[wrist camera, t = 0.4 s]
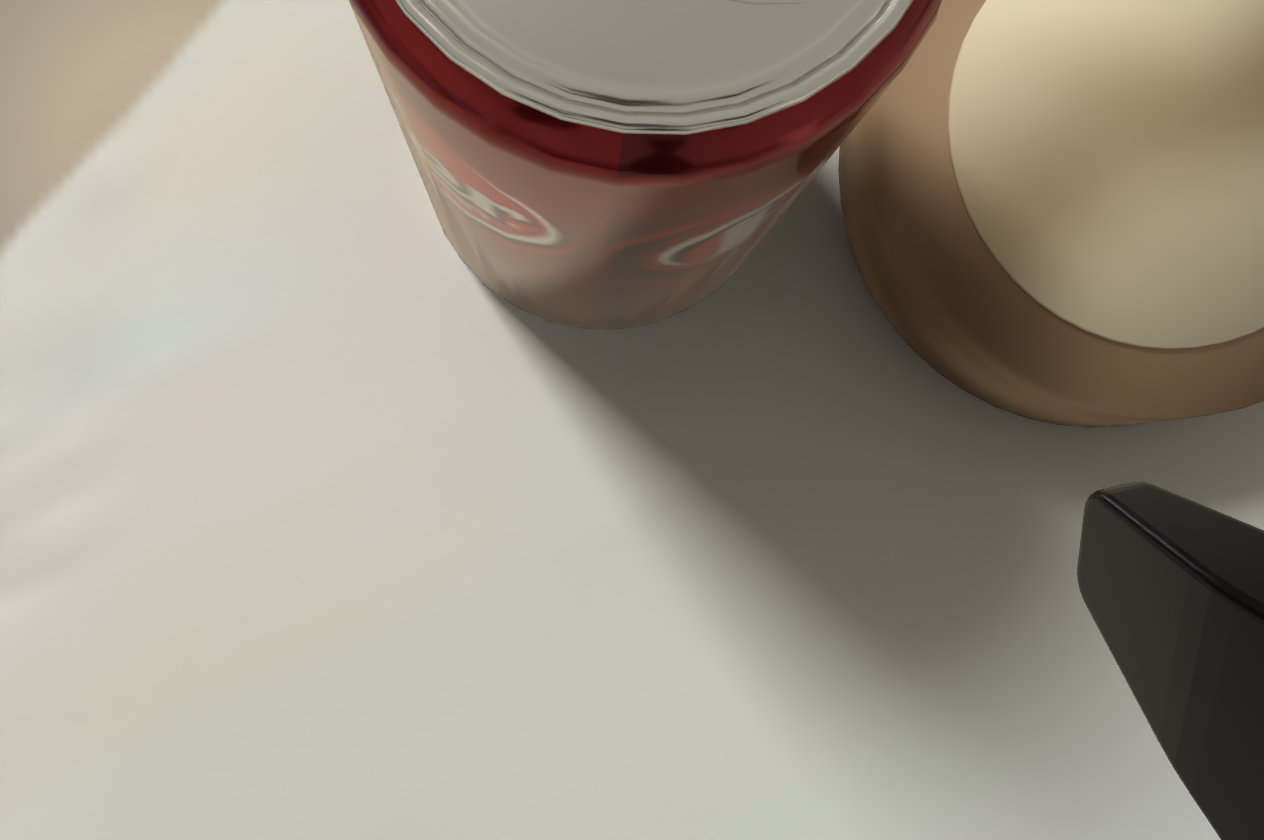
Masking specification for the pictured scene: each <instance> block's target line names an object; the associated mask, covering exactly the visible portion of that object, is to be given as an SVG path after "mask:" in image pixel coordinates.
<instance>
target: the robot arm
mask: <svg viewBox="0 0 1264 840" xmlns="http://www.w3.org/2000/svg"><path fill="white" fill-rule="evenodd" d="M1077 576H1078V584H1079V588H1080V592H1081V594H1082V597H1083V600H1084V602H1085V604H1086V606H1087V608H1088V609H1089V611H1090V613H1091V615H1092V617H1093V619H1094V621H1095V623H1096V625H1097V626H1098V628H1099V630H1100V632H1101V634H1102V636H1103V638H1104V640H1105V642H1106V643H1107V645H1108V647H1109V649H1110V651H1111V653H1112V655H1113V657H1114V658H1115V660H1116V662H1117V664H1118V666H1119V668H1120V670H1121V672H1122V674H1123V675H1124V677H1125V679H1126V681H1127V683H1128V685H1129V687H1130V689H1131V691H1132V692H1133V694H1134V696H1135V698H1136V700H1137V702H1138V704H1139V706H1140V707H1141V709H1142V711H1143V713H1144V715H1145V717H1146V719H1147V721H1148V723H1149V724H1150V726H1151V728H1152V730H1153V732H1154V734H1155V736H1156V738H1157V740H1158V741H1159V743H1160V745H1161V747H1162V748H1163V750H1164V752H1165V754H1166V755H1167V757H1168V759H1169V761H1170V762H1171V764H1172V766H1173V768H1174V769H1175V771H1176V772H1177V774H1178V775H1179V777H1180V779H1181V780H1182V782H1183V783H1184V785H1185V786H1186V788H1187V789H1188V791H1189V793H1190V794H1191V796H1192V797H1193V799H1194V800H1195V802H1196V803H1197V805H1198V806H1199V808H1200V809H1201V810H1202V812H1203V813H1204V815H1205V816H1206V818H1207V819H1208V821H1209V822H1210V824H1211V825H1212V827H1213V828H1214V830H1215V831H1216V833H1217V834H1218V836H1219V837H1220V839H1221V840H1264V531H1263V530H1261V529H1259V528H1256V527H1254V526H1251V525H1249V524H1246V523H1244V522H1242V521H1239V520H1237V519H1234V518H1232V517H1230V516H1227V515H1225V514H1222V513H1220V512H1217V511H1215V510H1213V509H1210V508H1208V507H1205V506H1203V505H1200V504H1198V503H1196V502H1193V501H1191V500H1188V499H1186V498H1184V497H1181V496H1179V495H1176V494H1174V493H1171V492H1169V491H1167V490H1164V489H1162V488H1159V487H1157V486H1154V485H1152V484H1149V483H1145V482H1132V483H1128V484H1123V485H1119V486H1115V487H1110V488H1106V489H1102V490H1098V491H1096V492H1094V493H1093V494H1091V495H1090V497H1089V498H1088V500H1087V502H1086V504H1085V509H1084V516H1083V525H1082V533H1081V541H1080V550H1079V558H1078V567H1077Z"/></svg>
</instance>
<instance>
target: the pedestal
mask: <svg viewBox="0 0 1264 840" xmlns="http://www.w3.org/2000/svg"><path fill="white" fill-rule="evenodd" d="M838 171H839V184H840V197H841V206H842V210H843V215H844V220H845V225H846V230H847V235H848V238H849V241H850V244H851V247H852V249H853V252H854V255H855V258H856V261H857V264H858V267H859V269H860V271H861V273H862V275H863V277H864V279H865V281H866V283H867V285H868V287H869V289H870V291H871V293H872V295H873V297H874V299H875V300H876V302H877V303H878V305H879V306H880V308H881V309H882V311H883V312H884V314H885V315H886V317H887V318H888V320H889V321H890V323H891V324H892V325H893V327H894V328H895V329H896V330H897V331H898V332H899V334H900V335H901V336H902V337H903V338H904V339H905V340H906V342H907V343H908V344H909V345H910V346H911V347H912V349H913V350H914V351H915V352H916V353H918V354H919V355H920V356H921V357H922V358H923V359H924V360H925V361H927V362H928V363H929V364H930V365H931V366H932V367H933V368H934V369H936V370H937V371H938V372H939V373H940V374H942V375H943V376H945V377H946V378H947V379H949V380H950V381H952V382H953V383H955V384H956V385H958V386H959V387H961V388H962V389H964V390H965V391H966V392H968V393H970V394H972V395H974V396H976V397H978V398H980V399H982V400H984V401H986V402H988V403H990V404H992V405H994V406H996V407H998V408H1001V409H1004V410H1007V411H1009V412H1012V413H1015V414H1018V415H1021V416H1024V417H1026V418H1030V419H1035V420H1040V421H1044V422H1049V423H1054V424H1059V425H1070V426H1083V427H1104V426H1120V425H1131V424H1139V423H1147V422H1156V421H1164V420H1172V419H1180V418H1189V417H1197V416H1205V415H1211V414H1216V413H1221V412H1226V411H1231V410H1236V409H1241V408H1244V407H1247V406H1250V405H1253V404H1256V403H1258V402H1261V401H1264V0H944V1H943V4H942V6H941V9H940V11H939V14H938V16H937V19H936V20H935V22H934V23H933V25H932V26H931V28H930V29H929V31H928V32H927V34H926V35H925V37H924V38H923V40H922V41H921V43H920V44H919V46H918V47H917V49H916V50H915V52H914V54H913V55H912V57H911V58H910V60H909V61H908V63H907V64H906V66H905V67H904V69H903V70H902V71H901V73H900V74H899V75H898V76H897V77H896V79H895V80H894V81H893V82H892V83H891V85H890V86H889V87H888V88H887V89H886V91H885V92H884V93H883V94H882V95H881V97H880V98H879V99H878V100H877V101H876V103H875V104H874V105H873V106H872V107H871V109H870V110H869V111H868V112H867V113H866V115H865V116H864V117H863V118H862V119H861V121H860V122H859V123H858V124H857V125H856V127H855V128H854V129H853V130H852V132H851V133H850V134H849V135H848V136H847V138H846V139H845V140H844V141H843V142H842V144H841V145H840V151H839V169H838Z"/></svg>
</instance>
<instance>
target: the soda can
mask: <svg viewBox="0 0 1264 840" xmlns="http://www.w3.org/2000/svg"><path fill="white" fill-rule="evenodd" d="M943 1H944V0H349V2H350V5H351V7H352V9H353V12H354V14H355V17H356V19H357V22H358V24H359V27H360V29H361V32H362V34H363V36H364V39H365V41H366V44H367V46H368V49H369V51H370V54H371V56H372V58H373V61H374V63H375V66H376V68H377V71H378V73H379V76H380V78H381V80H382V83H383V85H384V88H385V90H386V93H387V95H388V98H389V100H390V103H391V105H392V107H393V110H394V112H395V115H396V117H397V120H398V122H399V125H400V127H401V129H402V132H403V134H404V137H405V139H406V142H407V144H408V147H409V149H410V152H411V154H412V156H413V159H414V161H415V164H416V166H417V169H418V171H419V174H420V176H421V178H422V181H423V183H424V186H425V188H426V191H427V193H428V196H429V198H430V200H431V203H432V205H433V208H434V210H435V213H436V215H437V217H438V220H439V222H440V225H441V227H442V229H443V232H444V234H445V236H446V237H447V239H448V240H449V242H450V243H451V245H452V246H453V248H454V249H455V251H456V252H457V254H458V255H459V257H460V258H461V260H462V261H463V263H464V264H465V265H466V266H467V267H468V268H469V269H470V270H471V271H472V272H473V273H474V274H475V275H476V276H477V277H478V278H479V279H480V280H481V281H482V282H483V283H484V284H485V285H486V286H487V287H488V288H489V289H491V290H492V291H494V292H495V293H497V294H498V295H500V296H501V297H503V298H504V299H506V300H507V301H509V302H510V303H512V304H513V305H515V306H516V307H518V308H520V309H522V310H525V311H527V312H529V313H532V314H534V315H537V316H539V317H541V318H544V319H546V320H548V321H551V322H556V323H561V324H565V325H570V326H575V327H580V328H585V329H623V328H628V327H633V326H638V325H644V324H649V323H654V322H657V321H659V320H662V319H664V318H667V317H669V316H672V315H674V314H677V313H679V312H682V311H684V310H686V309H688V308H690V307H691V306H693V305H694V304H696V303H697V302H699V301H700V300H702V299H703V298H705V297H706V296H708V295H709V294H711V293H712V292H714V291H715V290H716V289H717V288H718V287H719V286H720V285H721V284H722V283H723V282H724V281H725V280H726V279H727V278H728V277H729V276H730V275H731V274H732V273H733V272H734V271H735V270H736V269H737V268H738V267H739V266H740V265H741V264H742V263H743V262H744V260H745V259H746V258H747V257H748V256H749V254H750V253H751V252H752V251H753V250H754V248H755V247H756V246H757V245H758V244H759V242H760V241H761V240H762V239H763V238H764V236H765V235H766V234H767V233H768V231H769V230H770V229H771V228H772V227H773V225H774V224H775V223H776V222H777V221H778V219H779V218H780V217H781V216H782V215H783V213H784V212H785V211H786V210H787V209H788V207H789V206H790V205H791V204H792V203H793V201H794V200H795V199H796V198H797V197H798V195H799V194H800V193H801V192H802V191H803V189H804V188H805V187H806V186H807V185H808V183H809V182H810V181H811V180H812V178H813V177H814V176H815V175H816V174H817V172H818V171H819V170H820V169H821V168H822V166H823V165H824V164H825V163H826V162H827V160H828V159H829V158H830V157H831V156H832V154H833V153H834V152H835V151H836V150H837V148H838V147H839V146H840V145H841V144H842V142H843V141H844V140H845V139H846V138H847V136H848V135H849V134H850V133H851V132H852V130H853V129H854V128H855V127H856V125H857V124H858V123H859V122H860V121H861V119H862V118H863V117H864V116H865V115H866V113H867V112H868V111H869V110H870V109H871V107H872V106H873V105H874V104H875V103H876V101H877V100H878V99H879V98H880V97H881V95H882V94H883V93H884V92H885V91H886V89H887V88H888V87H889V86H890V85H891V83H892V82H893V81H894V80H895V79H896V77H897V76H898V75H899V74H900V73H901V71H902V70H903V69H904V67H905V66H906V64H907V63H908V61H909V60H910V58H911V57H912V55H913V54H914V52H915V50H916V49H917V47H918V46H919V44H920V43H921V41H922V40H923V38H924V37H925V35H926V34H927V32H928V31H929V29H930V28H931V26H932V25H933V23H934V22H935V20H936V19H937V16H938V14H939V11H940V9H941V6H942V4H943Z"/></svg>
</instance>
